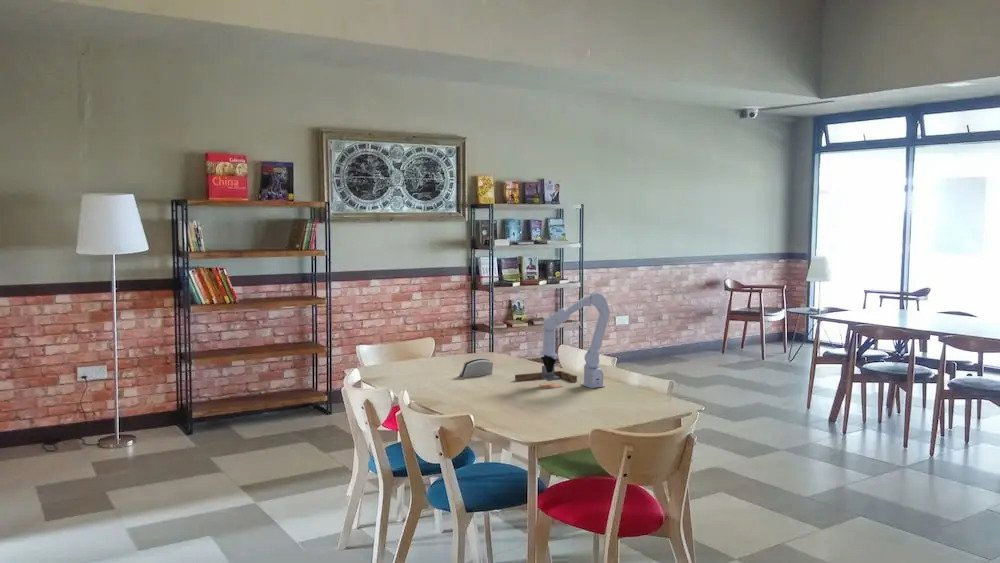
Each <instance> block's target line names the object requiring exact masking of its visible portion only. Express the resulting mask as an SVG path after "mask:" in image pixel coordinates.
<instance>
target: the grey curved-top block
mask: <svg viewBox="0 0 1000 563" xmlns="http://www.w3.org/2000/svg"><path fill="white" fill-rule="evenodd" d="M493 366H494V363H493V361H492V360H490V359H489V358H486V357H476V358H472V359H469V360H467V361H465V362H464V363H463V366H462V369H461V371H460V372H459V377H462V378H464V377H465V378H472V377H471V376H473V377H479V376H478V375H481V376H487V375H488V374H489V375H492V374H493Z"/></svg>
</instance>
